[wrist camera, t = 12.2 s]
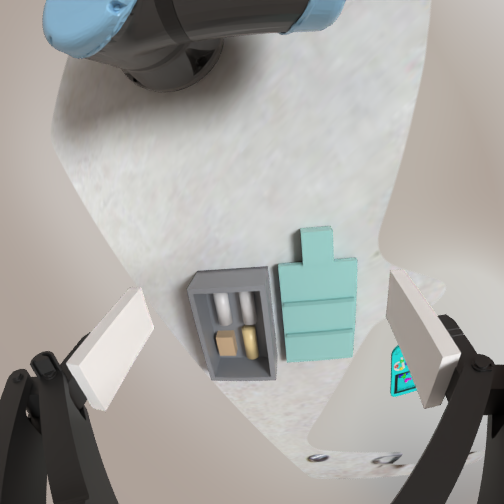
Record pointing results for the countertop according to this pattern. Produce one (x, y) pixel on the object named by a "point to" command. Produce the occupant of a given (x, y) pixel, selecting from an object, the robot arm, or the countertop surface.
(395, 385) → the handheld gaming console
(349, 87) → the countertop surface
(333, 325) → the lid
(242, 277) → the tub
